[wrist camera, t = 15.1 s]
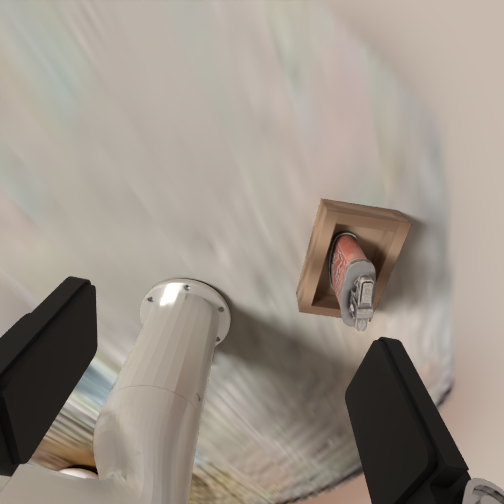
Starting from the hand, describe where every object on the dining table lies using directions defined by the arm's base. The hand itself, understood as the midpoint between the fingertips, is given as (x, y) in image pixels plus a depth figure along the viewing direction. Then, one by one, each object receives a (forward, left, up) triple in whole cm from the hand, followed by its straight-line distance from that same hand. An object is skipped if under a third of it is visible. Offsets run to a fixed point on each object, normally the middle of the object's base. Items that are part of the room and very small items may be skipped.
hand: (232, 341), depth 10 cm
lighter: (-10, -12, -26) cm, 30 cm away
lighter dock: (-9, -13, -27) cm, 31 cm away
